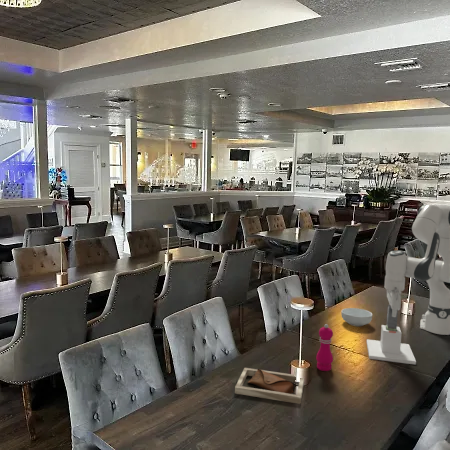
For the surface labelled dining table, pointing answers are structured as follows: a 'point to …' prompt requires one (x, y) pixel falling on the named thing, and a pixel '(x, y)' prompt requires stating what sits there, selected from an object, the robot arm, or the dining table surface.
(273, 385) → the sunglasses case
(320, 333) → the pepper mill
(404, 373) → the dining table surface
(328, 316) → the dining table surface
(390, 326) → the jack column
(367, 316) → the cereal bowl
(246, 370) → the birch tray rim
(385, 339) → the stand housing
